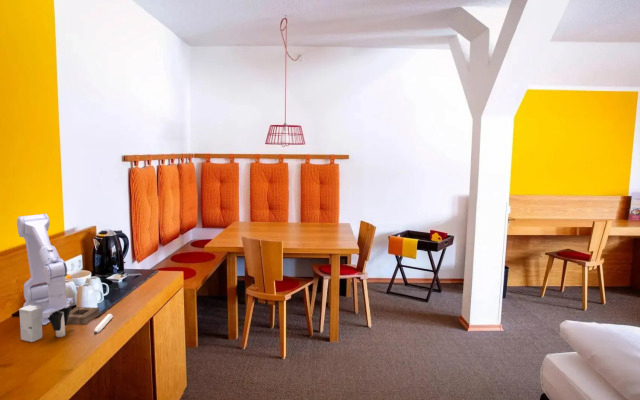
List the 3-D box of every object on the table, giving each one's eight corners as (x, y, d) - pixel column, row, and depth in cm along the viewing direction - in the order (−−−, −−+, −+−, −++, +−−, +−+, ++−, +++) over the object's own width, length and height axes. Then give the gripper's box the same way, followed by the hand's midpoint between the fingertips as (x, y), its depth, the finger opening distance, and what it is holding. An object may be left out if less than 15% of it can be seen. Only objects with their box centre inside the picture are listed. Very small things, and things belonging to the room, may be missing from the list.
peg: (54, 337, 161) (52, 314, 160) (59, 333, 164) (57, 311, 163) (62, 337, 161) (60, 314, 160) (67, 333, 164) (65, 311, 163)
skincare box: (20, 340, 159) (17, 309, 157) (31, 334, 163) (28, 304, 161) (33, 342, 157) (30, 311, 155) (44, 337, 161) (41, 306, 160)
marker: (94, 338, 163) (109, 320, 179) (98, 335, 163) (113, 317, 179) (89, 332, 163) (105, 315, 178) (94, 329, 163) (110, 312, 178)
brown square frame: (61, 323, 173) (61, 316, 172) (76, 313, 183) (76, 307, 182) (85, 324, 172) (85, 317, 172) (99, 314, 182) (99, 307, 182)
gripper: (54, 301, 153) (57, 337, 155) (79, 287, 167) (82, 320, 169) (35, 300, 153) (39, 336, 155) (62, 286, 167) (64, 319, 169)
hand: (60, 328), depth 162 cm, fingers closed on peg, 3 cm apart
